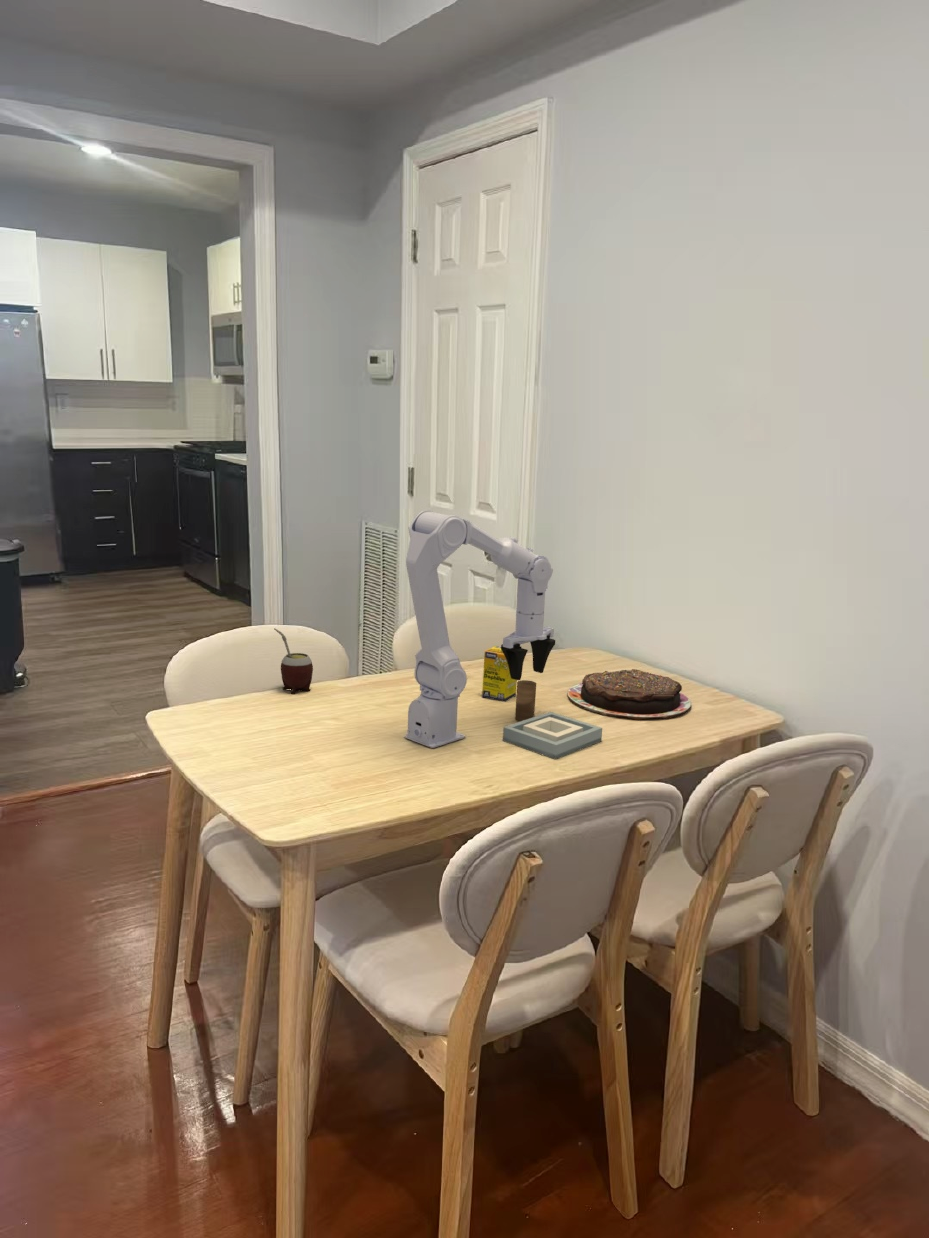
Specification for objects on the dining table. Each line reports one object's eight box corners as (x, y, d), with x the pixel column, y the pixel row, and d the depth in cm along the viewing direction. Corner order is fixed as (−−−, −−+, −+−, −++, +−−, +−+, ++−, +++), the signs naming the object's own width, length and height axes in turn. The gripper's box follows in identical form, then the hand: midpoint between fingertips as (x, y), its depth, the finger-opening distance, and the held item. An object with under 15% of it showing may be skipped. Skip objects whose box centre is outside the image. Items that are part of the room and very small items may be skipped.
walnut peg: (525, 723, 189) (528, 686, 187) (511, 718, 191) (513, 682, 189) (537, 719, 191) (540, 683, 190) (523, 715, 194) (525, 679, 192)
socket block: (556, 747, 173) (557, 736, 173) (522, 736, 179) (523, 725, 178) (582, 738, 179) (583, 727, 179) (548, 727, 185) (549, 716, 184)
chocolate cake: (541, 698, 208) (543, 670, 207) (615, 678, 227) (617, 653, 226) (643, 731, 188) (645, 701, 187) (714, 706, 207) (717, 679, 206)
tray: (555, 759, 169) (556, 745, 169) (502, 740, 178) (503, 727, 177) (601, 741, 180) (602, 727, 180) (549, 724, 189) (550, 711, 188)
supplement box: (481, 697, 205) (483, 650, 203) (493, 691, 210) (495, 645, 208) (505, 702, 202) (508, 654, 200) (516, 695, 208) (519, 649, 205)
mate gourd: (316, 686, 207) (316, 622, 204) (306, 697, 199) (307, 630, 196) (284, 684, 208) (284, 620, 204) (273, 694, 200) (273, 628, 197)
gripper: (523, 620, 178) (520, 686, 181) (566, 610, 189) (563, 672, 192) (496, 614, 183) (493, 679, 186) (539, 604, 193) (536, 665, 197)
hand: (527, 675), depth 189 cm, fingers open, 7 cm apart
